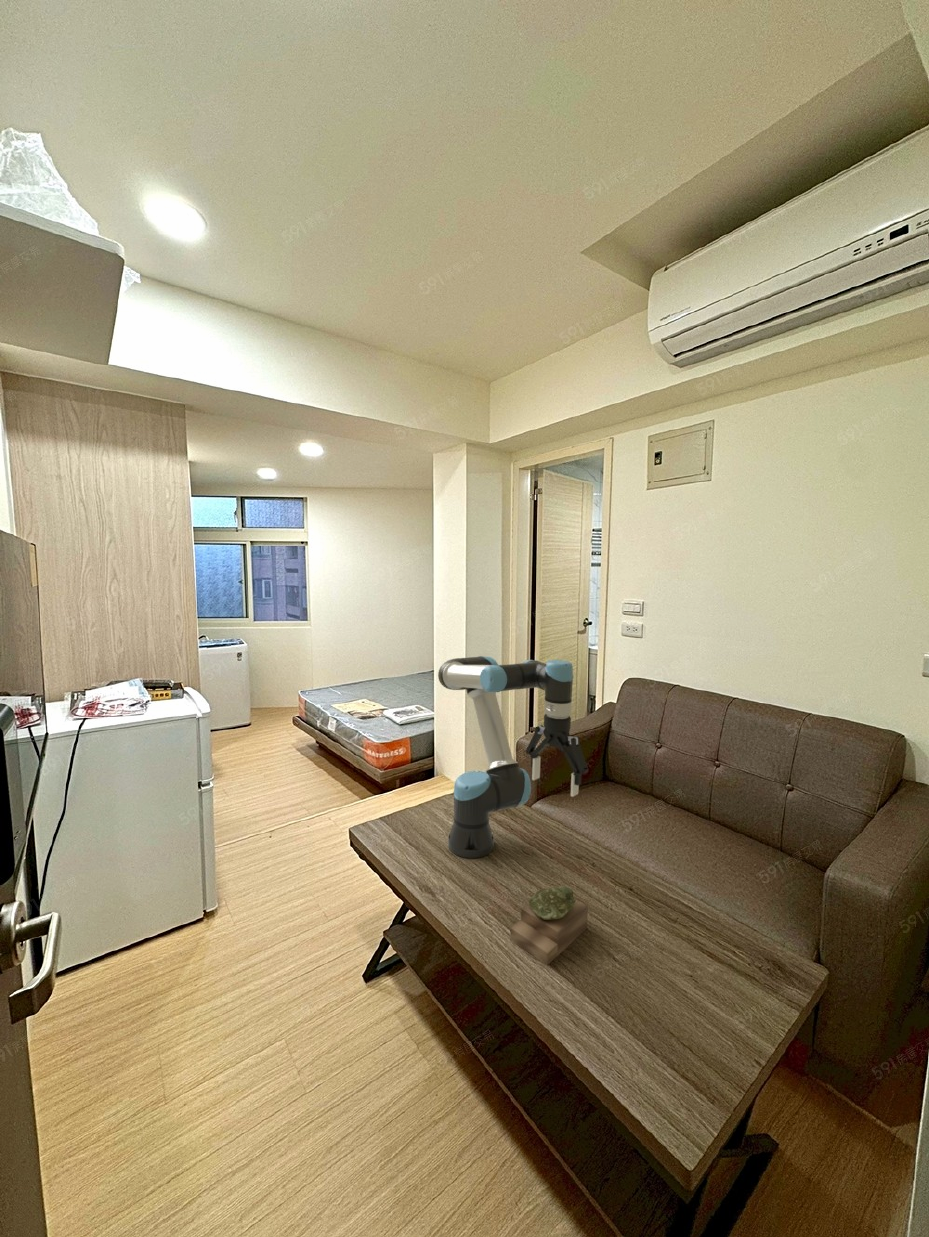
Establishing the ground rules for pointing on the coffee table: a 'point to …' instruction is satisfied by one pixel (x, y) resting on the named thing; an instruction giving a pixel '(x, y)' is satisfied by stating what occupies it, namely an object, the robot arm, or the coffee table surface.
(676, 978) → the coffee table surface
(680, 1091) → the coffee table surface
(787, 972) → the coffee table surface
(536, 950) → the block
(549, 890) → the seashell
